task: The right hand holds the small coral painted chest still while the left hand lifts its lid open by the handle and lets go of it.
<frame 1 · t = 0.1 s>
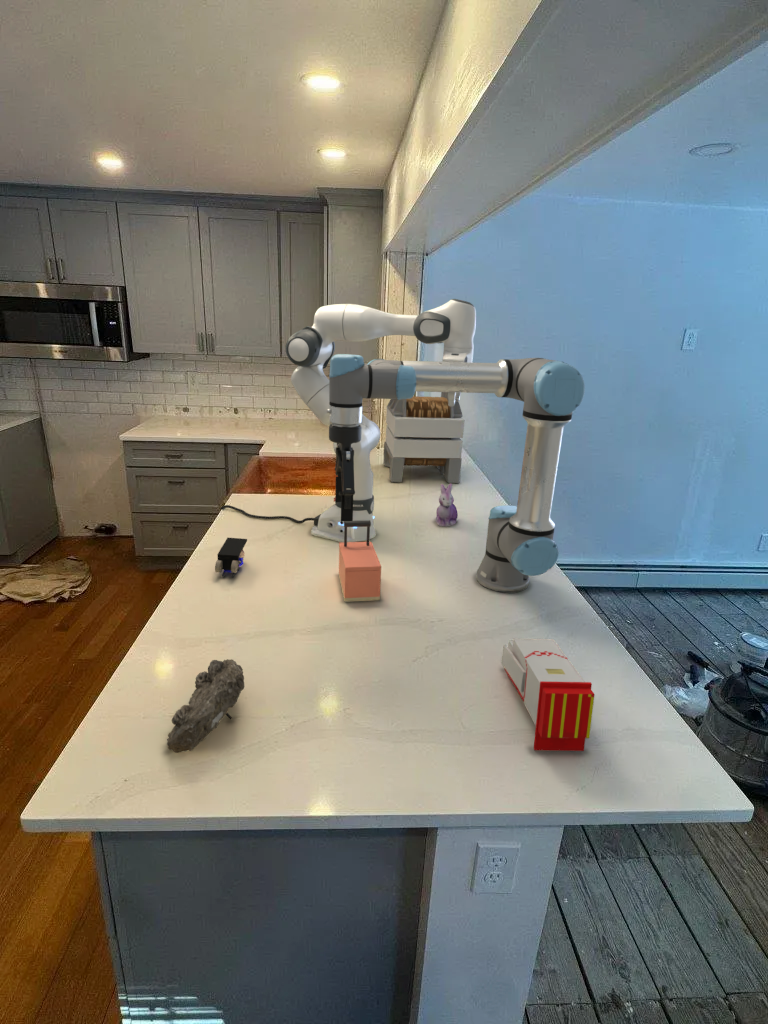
left hand: (453, 403, 174), 48 cm above the counter, tool pointing down, fingers open, 8 cm apart
right hand: (343, 510, 138), 28 cm above the counter, tool pointing down, fingers open, 13 cm apart
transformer: (419, 473, 275), on the counter
figurine character: (232, 569, 168), on the counter
toy: (537, 702, 116), on the counter
fossil: (212, 717, 108), on the counter
lid: (359, 542, 157), point 13 cm above the counter, hinge at 0.0°
chest: (358, 587, 161), on the counter
figurine: (446, 523, 212), on the counter
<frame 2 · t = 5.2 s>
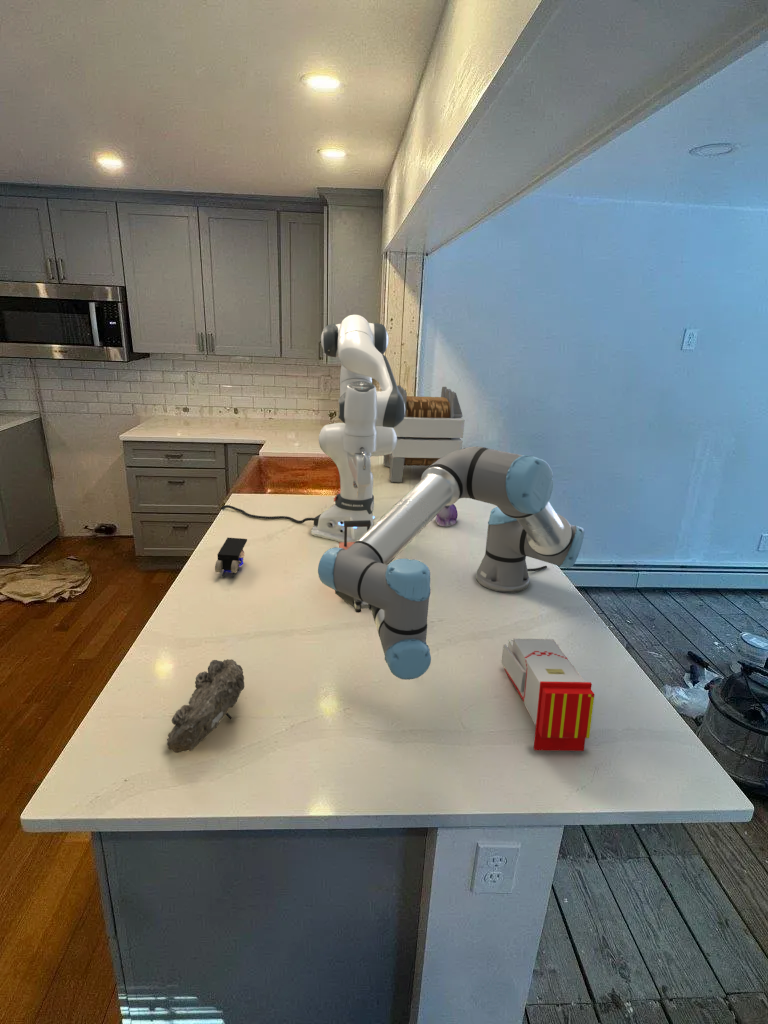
left hand: (358, 492, 157), 26 cm above the counter, tool pointing down, fingers open, 8 cm apart
right hand: (376, 570, 129), 19 cm above the counter, tool horizontal, fingers open, 13 cm apart
nothing on the counter moved.
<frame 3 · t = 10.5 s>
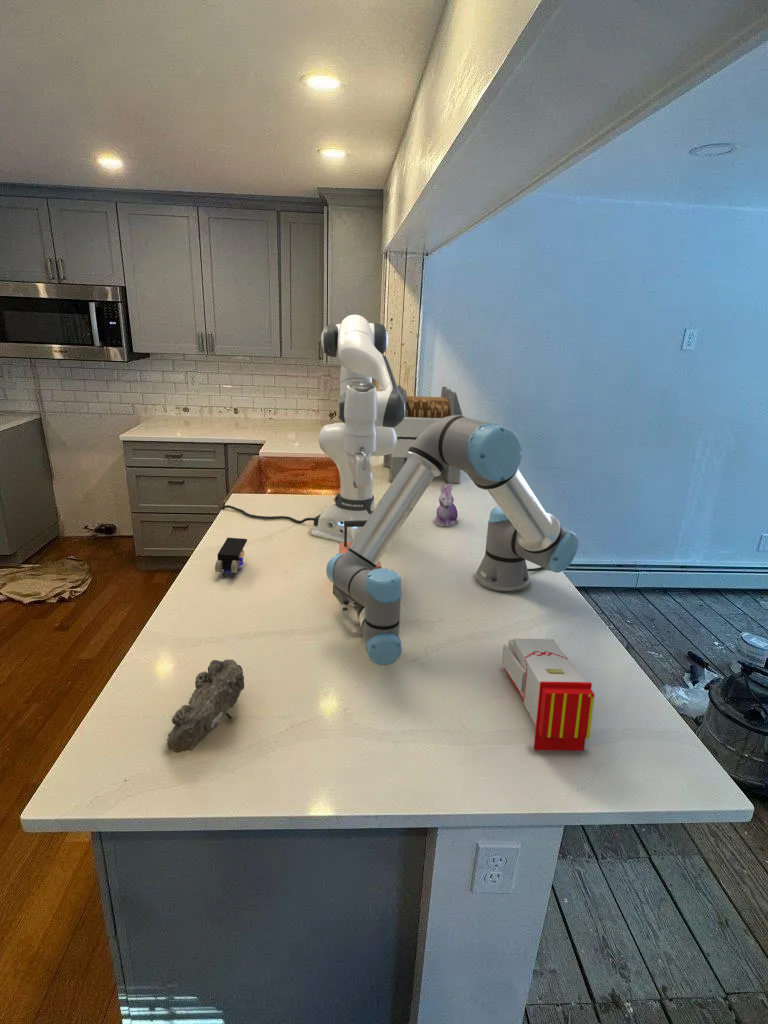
left hand: (358, 492, 157), 26 cm above the counter, tool pointing down, fingers open, 8 cm apart
right hand: (361, 574, 154), 6 cm above the counter, tool horizontal, fingers closed on chest, 10 cm apart
chest: (358, 587, 161), on the counter, touching right hand
everything else where it was.
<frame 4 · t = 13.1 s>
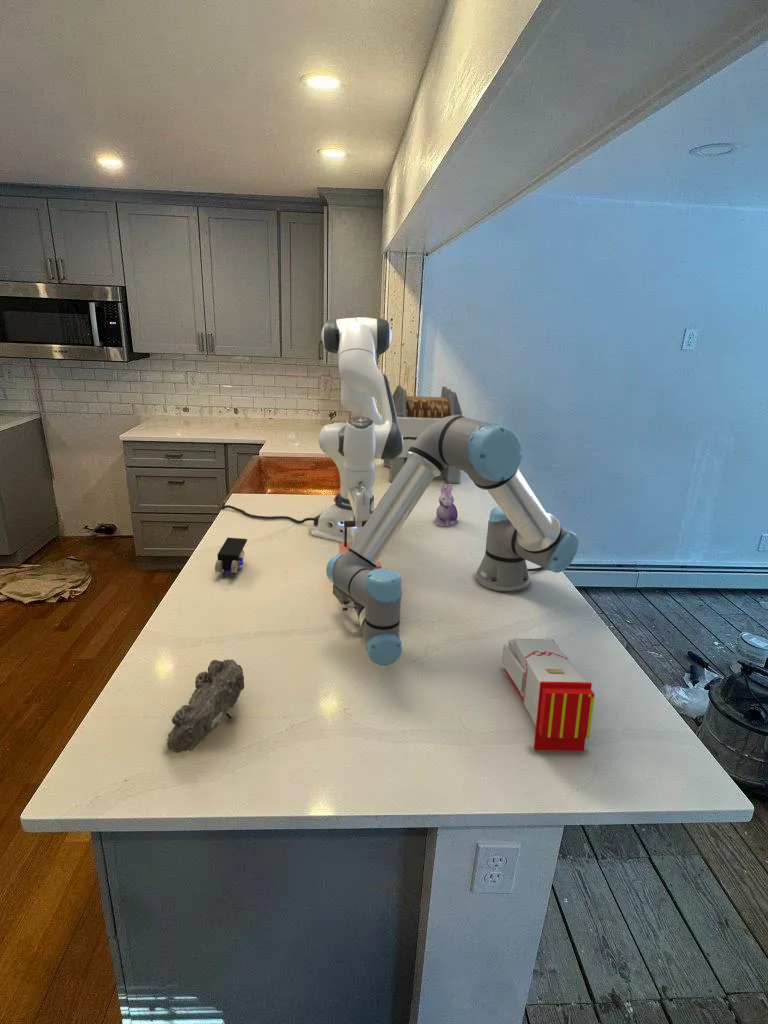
left hand: (357, 524, 161), 17 cm above the counter, tool pointing down, fingers closed on lid, 2 cm apart
right hand: (361, 574, 154), 6 cm above the counter, tool horizontal, fingers closed on chest, 10 cm apart
lid: (359, 542, 157), point 13 cm above the counter, hinge at -0.1°, touching left hand
chest: (358, 587, 161), on the counter, touching right hand
everything else where it was.
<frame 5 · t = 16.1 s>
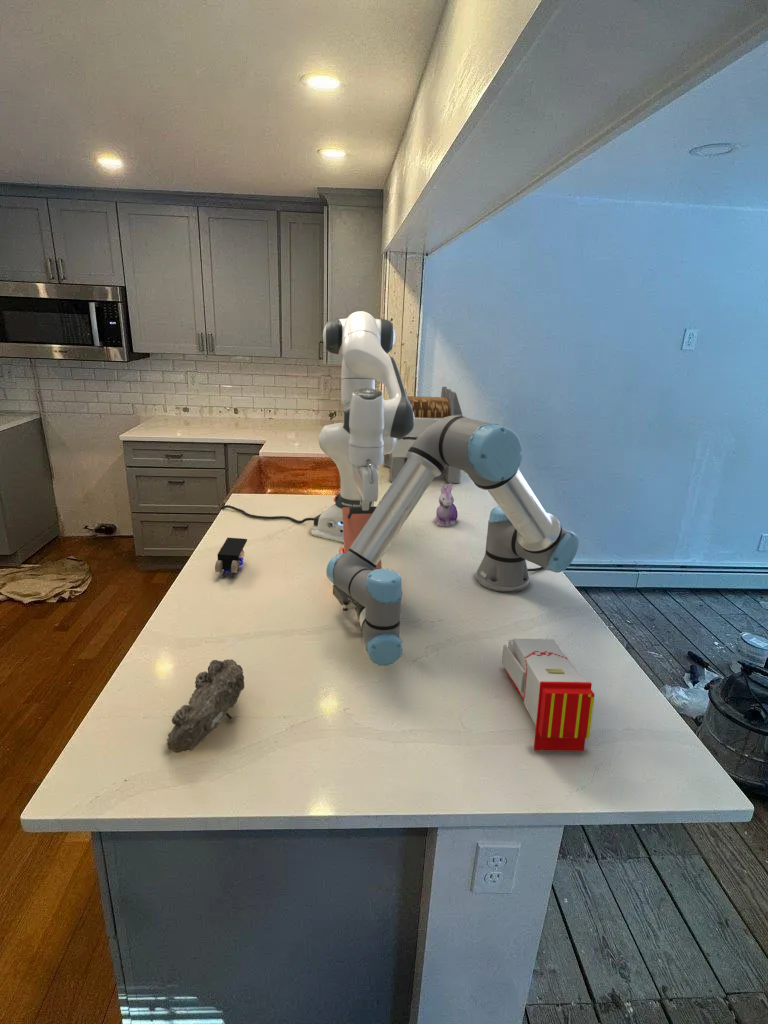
left hand: (364, 508, 146), 26 cm above the counter, tool pointing down, fingers closed, pressing on lid
right hand: (361, 574, 154), 6 cm above the counter, tool horizontal, fingers closed on chest, 10 cm apart
lid: (363, 534, 148), point 19 cm above the counter, hinge at 54.5°, touching left hand
chest: (358, 587, 161), on the counter, touching right hand
everything else where it was.
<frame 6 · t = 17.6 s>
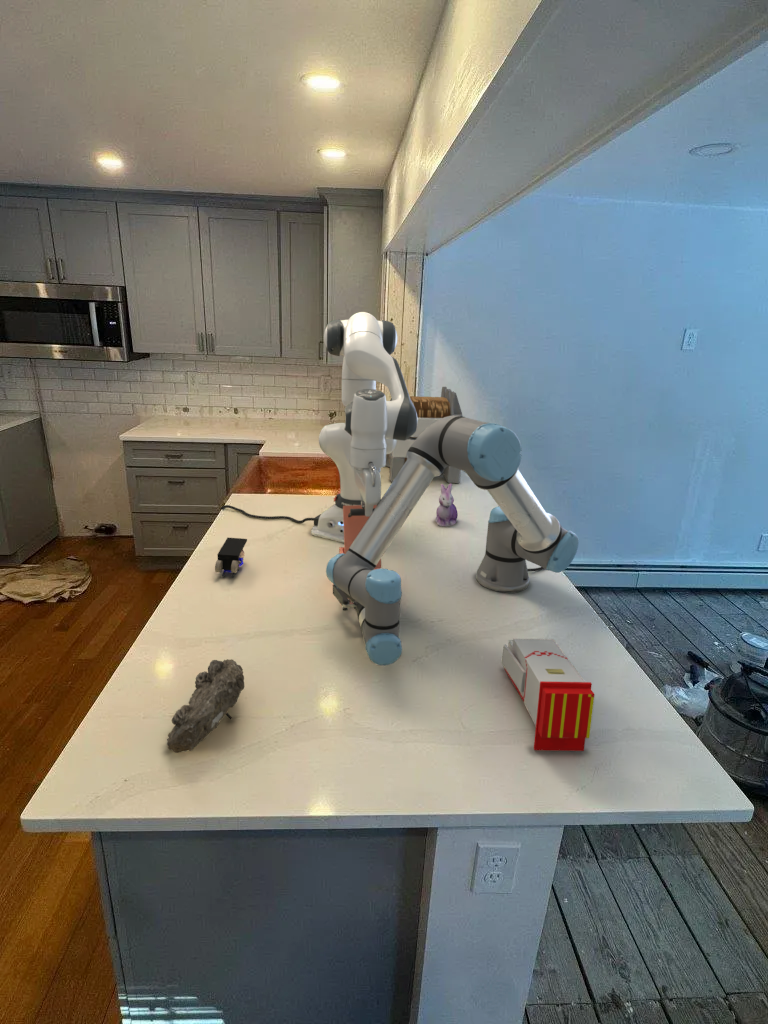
left hand: (366, 511, 143), 26 cm above the counter, tool pointing down, fingers open, 5 cm apart
right hand: (361, 574, 154), 6 cm above the counter, tool horizontal, fingers closed on chest, 10 cm apart
lid: (364, 535, 147), point 19 cm above the counter, hinge at 61.5°, touching left hand
chest: (358, 587, 161), on the counter, touching right hand
everything else where it was.
when the right hand's fingers open (6 cm above the counter, at t = 20.8 s): chest stays where it is, on the counter.
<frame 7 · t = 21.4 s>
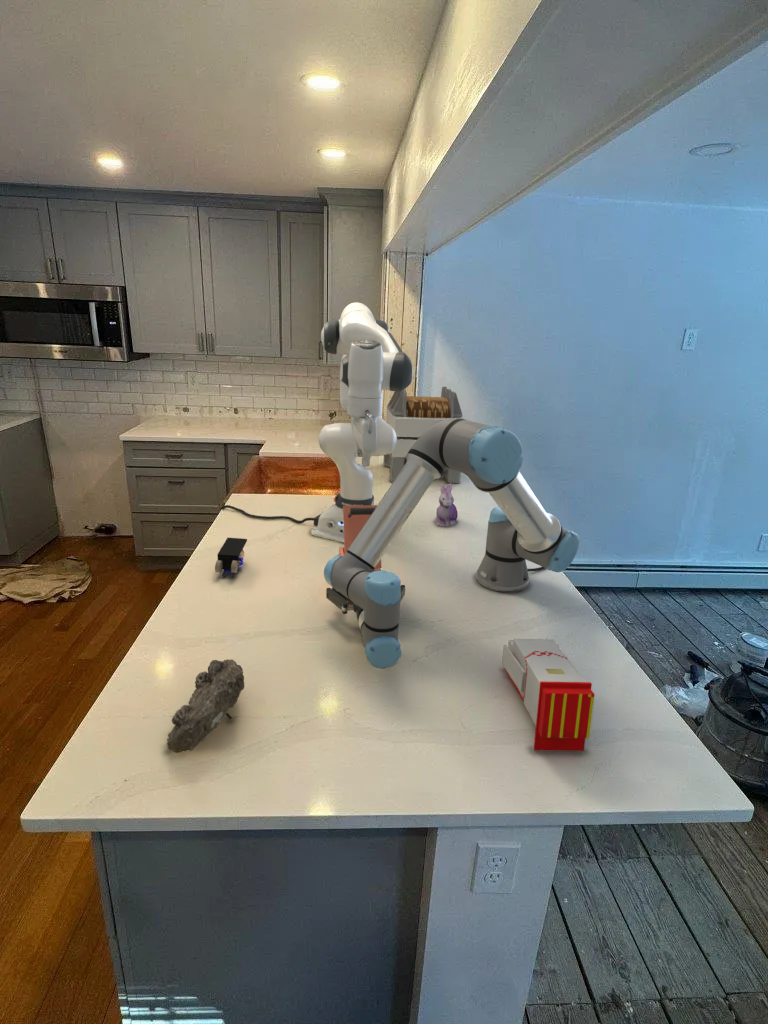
left hand: (363, 460, 147), 37 cm above the counter, tool pointing down, fingers open, 8 cm apart
right hand: (362, 577, 152), 7 cm above the counter, tool horizontal, fingers open, 13 cm apart
lid: (364, 534, 148), point 19 cm above the counter, hinge at 59.9°
chest: (358, 587, 161), on the counter
everything else where it was.
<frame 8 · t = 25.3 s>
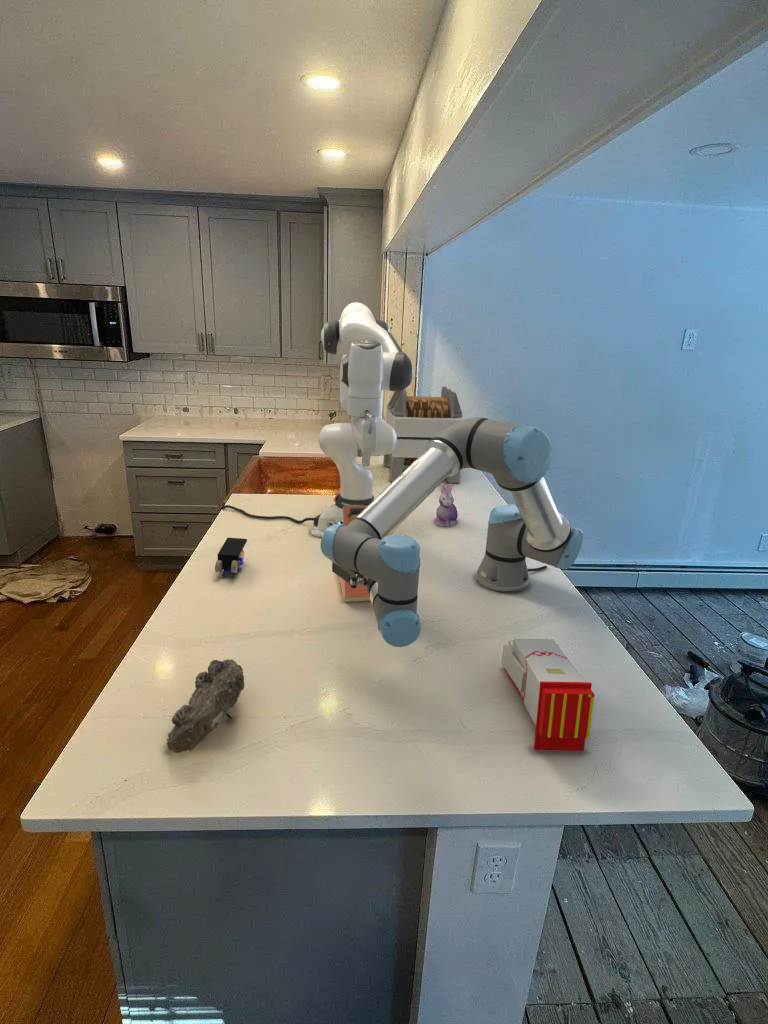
left hand: (363, 460, 147), 37 cm above the counter, tool pointing down, fingers open, 8 cm apart
right hand: (371, 550, 136), 20 cm above the counter, tool horizontal, fingers open, 13 cm apart
nothing on the counter moved.
at the end: lid at +60° (first picture: +0°); the left hand is holding nothing; the right hand is holding nothing; chest tilted 0°; chest never tilted more than 1° during the clip; chest moved 0.0 cm from its start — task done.
